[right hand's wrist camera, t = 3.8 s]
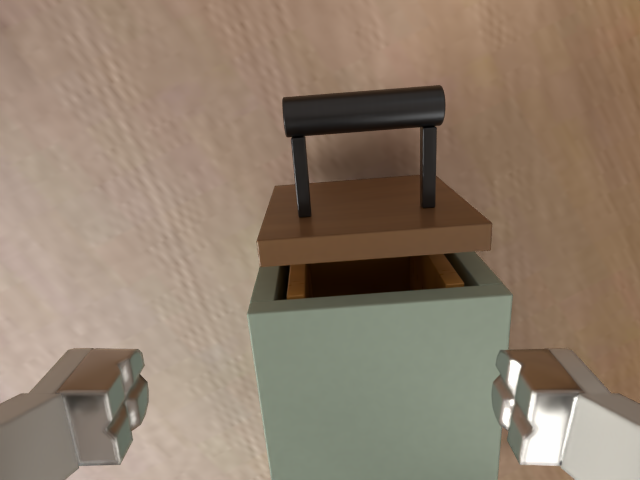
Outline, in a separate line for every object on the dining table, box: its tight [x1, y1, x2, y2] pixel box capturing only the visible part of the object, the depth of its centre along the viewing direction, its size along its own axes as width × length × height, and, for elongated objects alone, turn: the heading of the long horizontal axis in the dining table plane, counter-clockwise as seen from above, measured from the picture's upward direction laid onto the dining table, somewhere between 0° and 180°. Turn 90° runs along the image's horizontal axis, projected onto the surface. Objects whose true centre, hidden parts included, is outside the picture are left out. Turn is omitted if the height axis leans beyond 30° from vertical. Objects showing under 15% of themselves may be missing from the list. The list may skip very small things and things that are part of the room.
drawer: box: [257, 85, 492, 300], centre depth 25 cm, size 25×9×9 cm, turn 4°
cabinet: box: [247, 252, 513, 480], centre depth 27 cm, size 21×11×11 cm, turn 4°
